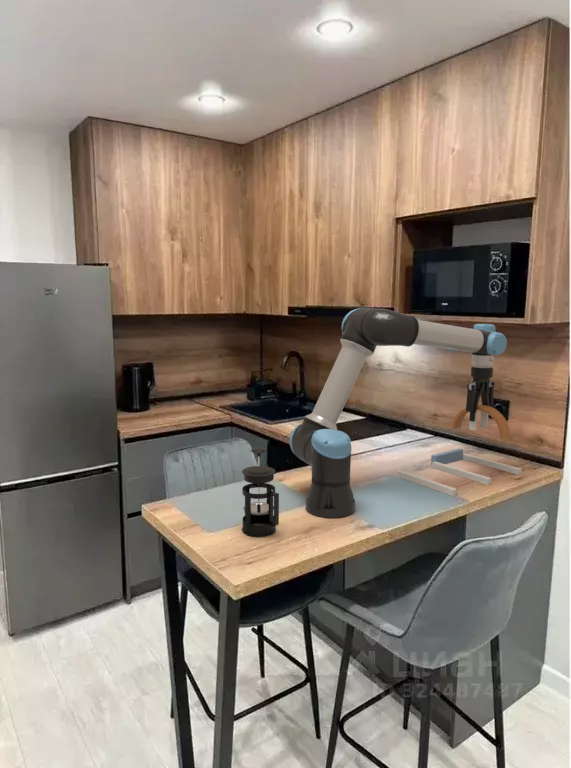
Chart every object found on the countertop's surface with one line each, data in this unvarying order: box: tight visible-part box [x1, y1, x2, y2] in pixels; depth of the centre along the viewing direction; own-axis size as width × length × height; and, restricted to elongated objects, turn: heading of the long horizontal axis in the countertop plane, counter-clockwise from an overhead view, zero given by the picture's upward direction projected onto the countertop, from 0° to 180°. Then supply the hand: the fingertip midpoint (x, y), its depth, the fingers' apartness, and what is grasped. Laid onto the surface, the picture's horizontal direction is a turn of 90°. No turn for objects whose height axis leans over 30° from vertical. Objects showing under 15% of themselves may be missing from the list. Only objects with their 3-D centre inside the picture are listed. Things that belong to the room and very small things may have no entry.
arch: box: [450, 404, 511, 440], centre depth 195 cm, size 6×20×10 cm, turn 41°
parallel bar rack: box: [397, 448, 523, 497], centre depth 193 cm, size 40×26×4 cm, turn 126°
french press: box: [241, 447, 280, 538], centre depth 143 cm, size 12×9×23 cm
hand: (478, 428), depth 196 cm, fingers closed on arch, 6 cm apart
